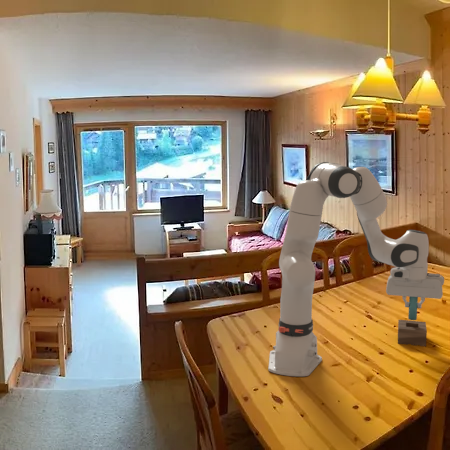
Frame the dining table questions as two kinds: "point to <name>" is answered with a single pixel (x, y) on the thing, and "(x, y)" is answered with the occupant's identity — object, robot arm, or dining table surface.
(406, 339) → the walnut hole block
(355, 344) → the dining table surface
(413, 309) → the teal peg
